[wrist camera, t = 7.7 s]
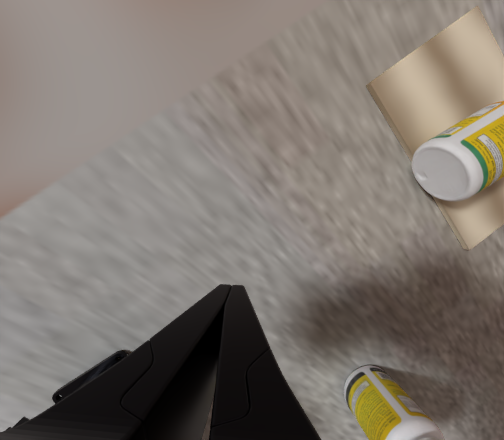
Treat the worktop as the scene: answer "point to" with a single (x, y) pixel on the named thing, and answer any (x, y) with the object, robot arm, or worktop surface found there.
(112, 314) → the worktop surface
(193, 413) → the robot arm
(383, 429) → the supplement bottle
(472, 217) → the birch board
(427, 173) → the supplement bottle
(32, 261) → the worktop surface
